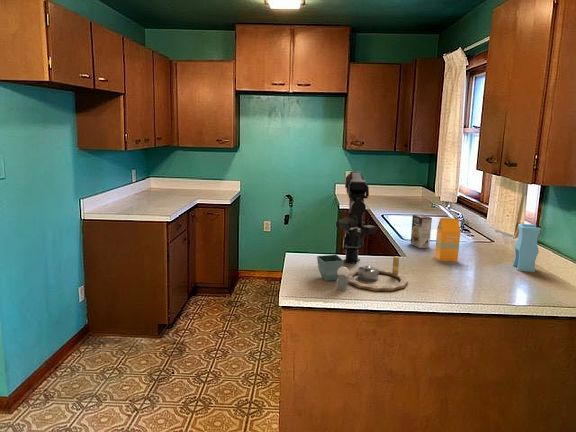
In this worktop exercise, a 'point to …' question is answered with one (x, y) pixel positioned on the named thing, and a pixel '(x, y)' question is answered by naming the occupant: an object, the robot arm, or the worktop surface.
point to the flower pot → (329, 266)
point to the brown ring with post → (393, 273)
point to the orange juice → (447, 239)
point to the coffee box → (421, 231)
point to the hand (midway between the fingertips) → (354, 246)
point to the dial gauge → (342, 278)
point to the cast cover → (368, 273)
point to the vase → (526, 247)
